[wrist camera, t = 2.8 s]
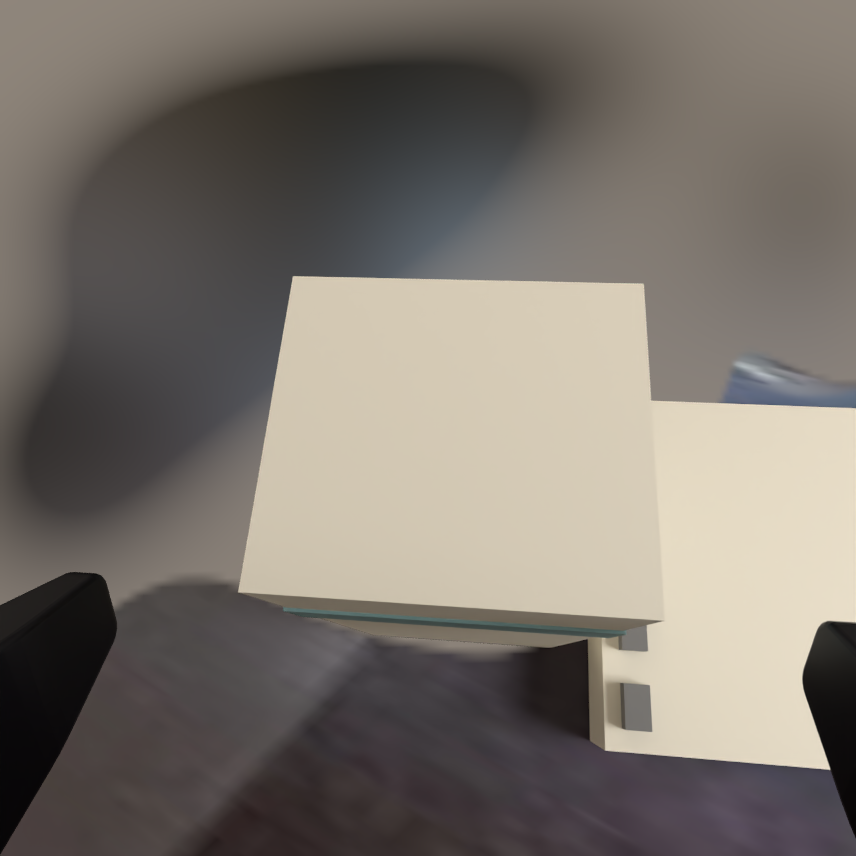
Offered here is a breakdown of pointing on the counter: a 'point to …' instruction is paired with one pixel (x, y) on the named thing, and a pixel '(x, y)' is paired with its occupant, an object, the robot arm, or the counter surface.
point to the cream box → (461, 462)
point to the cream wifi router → (735, 586)
